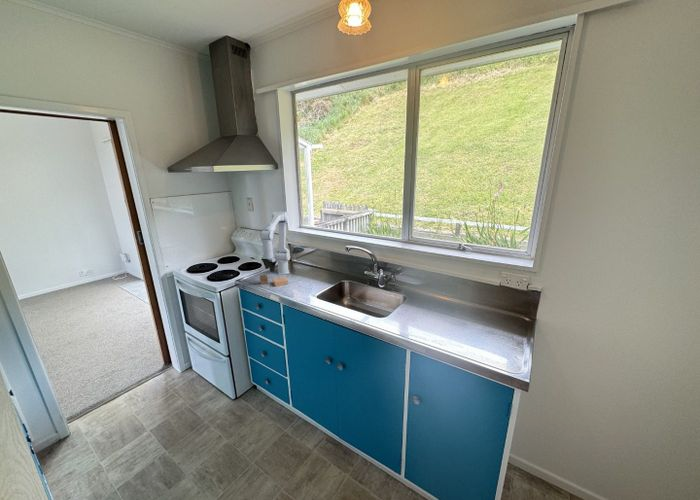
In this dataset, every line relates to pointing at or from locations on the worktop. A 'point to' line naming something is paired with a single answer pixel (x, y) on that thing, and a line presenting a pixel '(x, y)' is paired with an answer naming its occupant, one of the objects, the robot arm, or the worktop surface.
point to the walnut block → (263, 279)
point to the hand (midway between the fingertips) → (269, 270)
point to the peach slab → (280, 281)
